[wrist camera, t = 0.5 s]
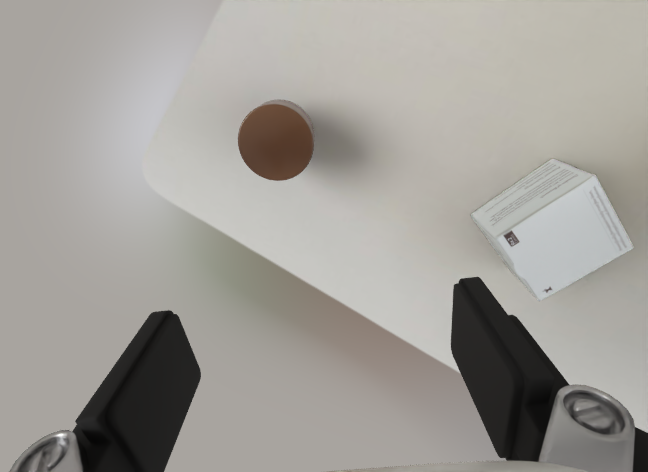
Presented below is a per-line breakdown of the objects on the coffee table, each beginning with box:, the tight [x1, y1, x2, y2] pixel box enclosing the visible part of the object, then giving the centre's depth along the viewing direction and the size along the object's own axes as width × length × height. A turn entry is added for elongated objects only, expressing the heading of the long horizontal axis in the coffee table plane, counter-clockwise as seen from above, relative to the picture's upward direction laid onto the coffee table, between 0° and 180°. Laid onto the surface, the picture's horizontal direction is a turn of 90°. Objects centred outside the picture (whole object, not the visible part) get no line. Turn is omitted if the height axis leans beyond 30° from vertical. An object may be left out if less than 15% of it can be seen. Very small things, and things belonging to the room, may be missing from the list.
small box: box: [471, 158, 633, 301], centre depth 27 cm, size 8×8×5 cm
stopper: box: [238, 100, 315, 181], centre depth 24 cm, size 5×5×6 cm
